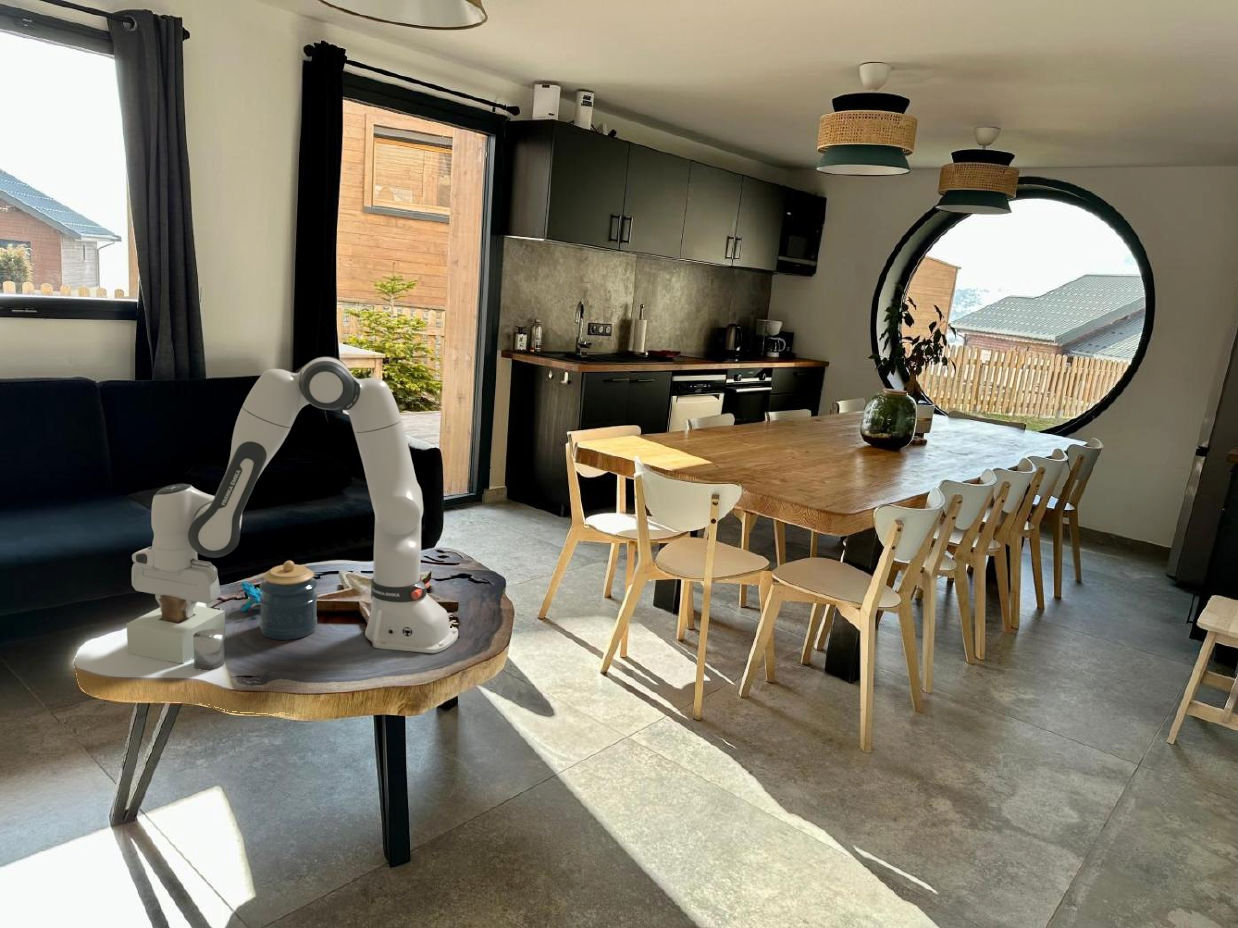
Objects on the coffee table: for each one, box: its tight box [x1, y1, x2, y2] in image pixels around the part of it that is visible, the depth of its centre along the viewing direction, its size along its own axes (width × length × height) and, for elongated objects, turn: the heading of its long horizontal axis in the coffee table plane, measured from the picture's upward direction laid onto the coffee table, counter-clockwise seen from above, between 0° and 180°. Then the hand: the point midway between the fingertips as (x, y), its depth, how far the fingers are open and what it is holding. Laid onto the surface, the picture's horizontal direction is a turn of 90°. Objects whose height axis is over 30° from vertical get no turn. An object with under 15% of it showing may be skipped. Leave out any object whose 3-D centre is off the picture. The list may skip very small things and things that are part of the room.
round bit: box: [193, 629, 225, 671], centre depth 184 cm, size 6×6×7 cm
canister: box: [259, 560, 318, 641], centre depth 203 cm, size 13×13×18 cm
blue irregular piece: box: [240, 581, 262, 613], centre depth 214 cm, size 11×6×10 cm
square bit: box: [161, 595, 192, 624], centre depth 190 cm, size 4×4×10 cm
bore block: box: [126, 604, 226, 665], centre depth 191 cm, size 14×14×7 cm
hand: (177, 614), depth 190 cm, fingers closed on square bit, 4 cm apart
